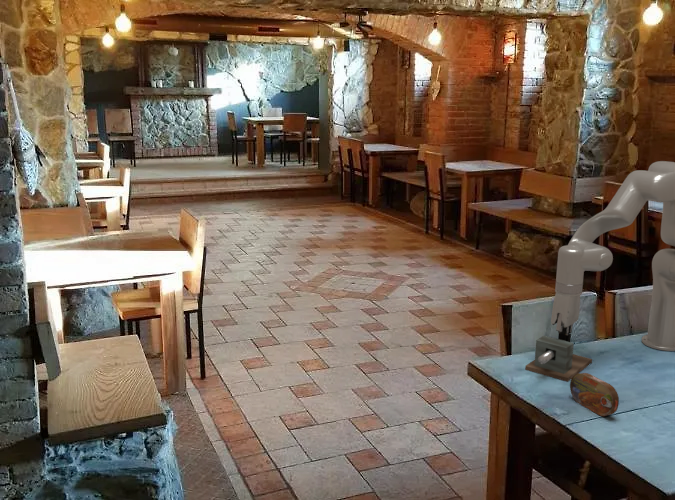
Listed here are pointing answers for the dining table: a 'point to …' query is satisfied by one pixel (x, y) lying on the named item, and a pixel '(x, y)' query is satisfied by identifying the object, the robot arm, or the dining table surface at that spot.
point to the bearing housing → (557, 359)
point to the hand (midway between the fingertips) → (563, 345)
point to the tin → (594, 394)
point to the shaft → (547, 355)
